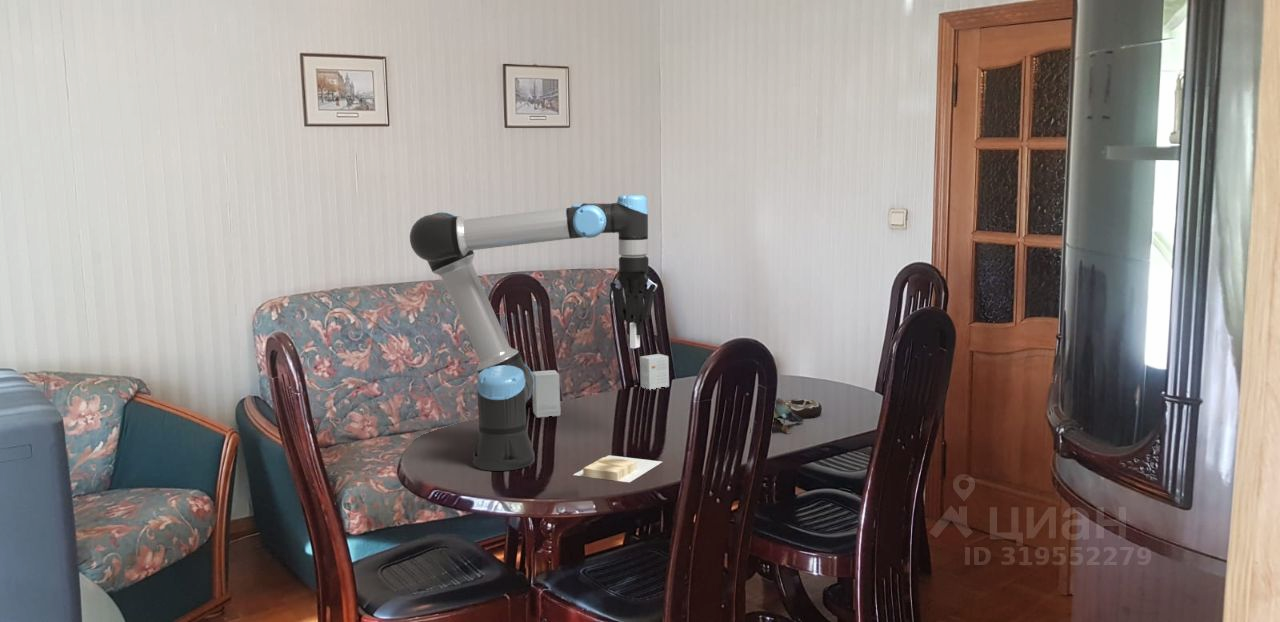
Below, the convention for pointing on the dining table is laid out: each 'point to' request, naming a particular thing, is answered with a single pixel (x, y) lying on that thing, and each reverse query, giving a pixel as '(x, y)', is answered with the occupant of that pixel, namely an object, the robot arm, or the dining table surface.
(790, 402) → the donut
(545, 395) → the supplement box
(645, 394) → the dining table surface
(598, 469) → the birch slab
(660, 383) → the small box
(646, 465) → the rubber mat
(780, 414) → the bird figurine
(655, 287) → the robot arm
